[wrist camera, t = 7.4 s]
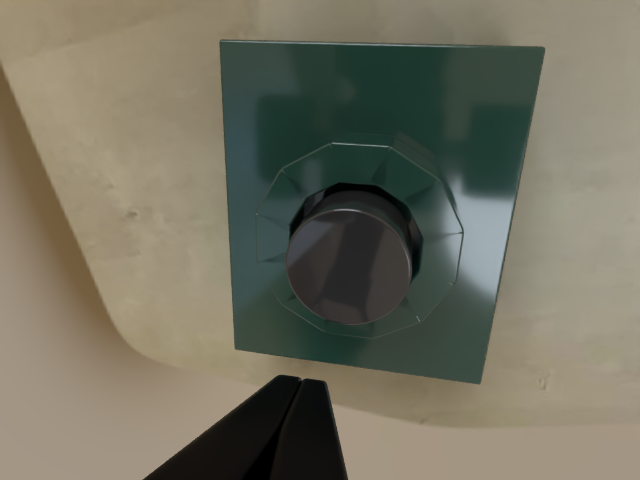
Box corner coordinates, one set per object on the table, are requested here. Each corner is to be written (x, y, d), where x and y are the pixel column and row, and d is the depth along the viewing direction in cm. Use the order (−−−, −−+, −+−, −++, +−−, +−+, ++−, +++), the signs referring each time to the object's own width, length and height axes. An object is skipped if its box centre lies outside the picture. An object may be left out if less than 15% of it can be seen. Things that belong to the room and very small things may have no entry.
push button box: (469, 329, 21) (488, 423, 16) (262, 304, 23) (214, 381, 17) (517, 50, 17) (568, 44, 11) (257, 43, 18) (190, 36, 13)
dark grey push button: (406, 299, 15) (405, 333, 13) (300, 287, 16) (284, 317, 14) (418, 193, 14) (418, 214, 12) (301, 184, 14) (284, 203, 12)
